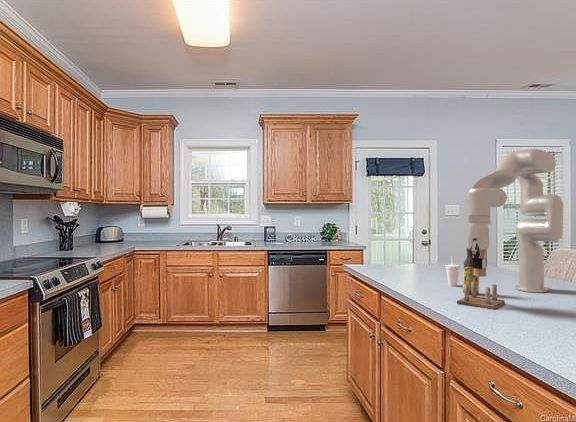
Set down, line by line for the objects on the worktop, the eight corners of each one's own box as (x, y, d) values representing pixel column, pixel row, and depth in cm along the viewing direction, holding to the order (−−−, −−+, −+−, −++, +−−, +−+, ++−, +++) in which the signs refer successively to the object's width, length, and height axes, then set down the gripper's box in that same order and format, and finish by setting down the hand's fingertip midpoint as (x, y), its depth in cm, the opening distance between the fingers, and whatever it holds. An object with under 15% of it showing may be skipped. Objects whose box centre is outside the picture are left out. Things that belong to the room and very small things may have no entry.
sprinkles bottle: (472, 276, 146) (471, 241, 146) (475, 274, 150) (474, 240, 150) (485, 277, 143) (484, 241, 144) (488, 275, 147) (487, 241, 147)
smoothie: (459, 284, 185) (458, 255, 185) (460, 287, 179) (460, 257, 179) (445, 284, 187) (444, 255, 187) (446, 286, 181) (445, 257, 181)
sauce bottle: (462, 294, 163) (461, 248, 163) (463, 291, 169) (462, 246, 169) (479, 295, 160) (478, 248, 160) (479, 293, 166) (479, 247, 166)
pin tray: (469, 298, 156) (469, 280, 156) (504, 303, 147) (504, 284, 147) (456, 304, 147) (456, 285, 147) (493, 309, 137) (493, 289, 138)
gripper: (476, 220, 155) (477, 264, 155) (460, 220, 143) (461, 269, 143) (496, 220, 150) (497, 266, 150) (482, 220, 138) (482, 271, 138)
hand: (480, 267), depth 147 cm, fingers closed on sprinkles bottle, 4 cm apart
